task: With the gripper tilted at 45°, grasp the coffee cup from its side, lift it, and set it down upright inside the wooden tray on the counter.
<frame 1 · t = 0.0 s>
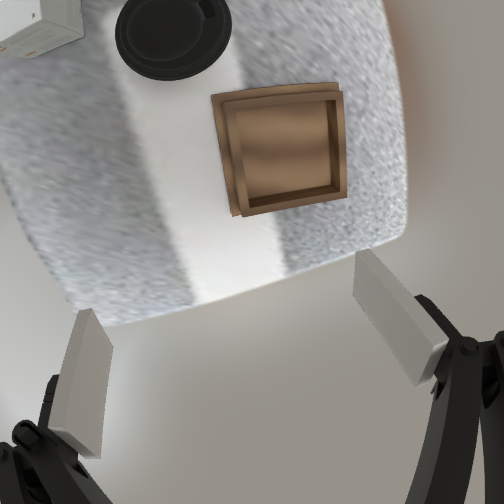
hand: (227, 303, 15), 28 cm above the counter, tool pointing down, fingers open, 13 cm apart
wooden tray: (282, 145, 39), on the counter
coffee cup: (177, 47, 31), on the counter
small box: (55, 27, 25), on the counter
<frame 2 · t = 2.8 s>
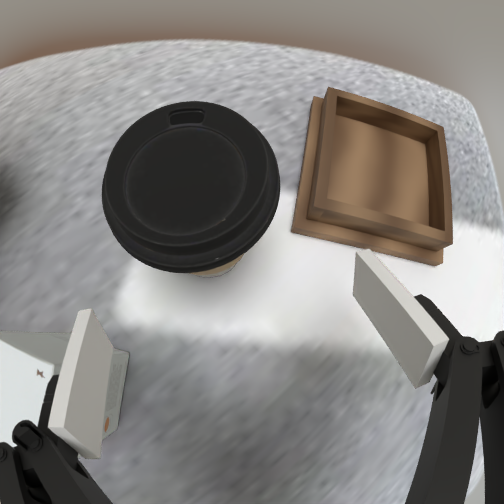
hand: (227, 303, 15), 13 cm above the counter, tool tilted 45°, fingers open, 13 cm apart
wooden tray: (374, 178, 31), on the counter
coffee cup: (209, 247, 29), on the counter
small box: (94, 381, 25), on the counter
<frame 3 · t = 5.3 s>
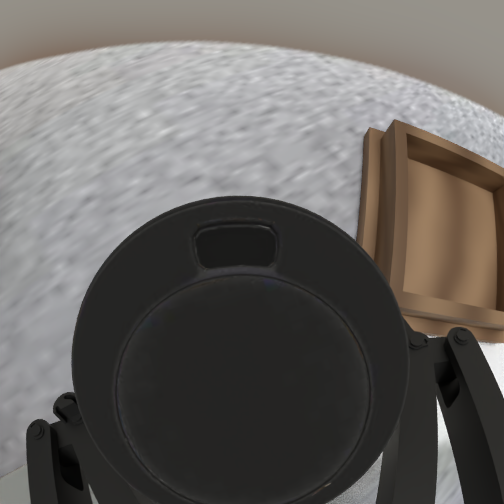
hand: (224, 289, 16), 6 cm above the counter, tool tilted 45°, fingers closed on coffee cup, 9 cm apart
wooden tray: (441, 241, 23), on the counter
coffee cup: (238, 345, 21), on the counter, touching gripper
small box: (102, 489, 17), on the counter
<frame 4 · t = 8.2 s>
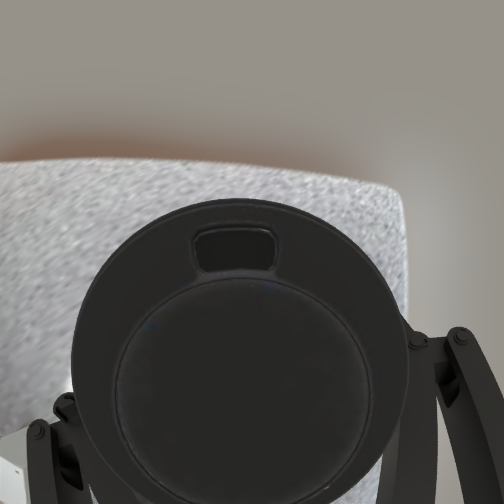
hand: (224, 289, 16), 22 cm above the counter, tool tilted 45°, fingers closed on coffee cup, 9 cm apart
coffee cup: (238, 346, 21), point 16 cm above the counter, touching gripper
small box: (56, 452, 30), on the counter
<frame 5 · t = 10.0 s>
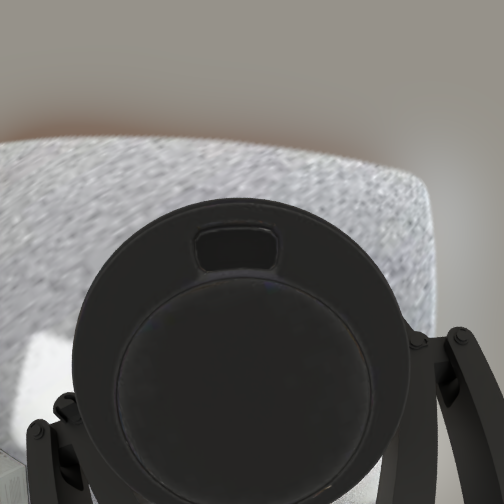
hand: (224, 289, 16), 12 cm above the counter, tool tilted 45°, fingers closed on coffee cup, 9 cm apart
coffee cup: (238, 346, 21), point 6 cm above the counter, touching gripper
small box: (9, 476, 21), on the counter
when the fingers open (9 cm above the counter, at t = 11.2 s): coffee cup drops 2 cm, resting on wooden tray.
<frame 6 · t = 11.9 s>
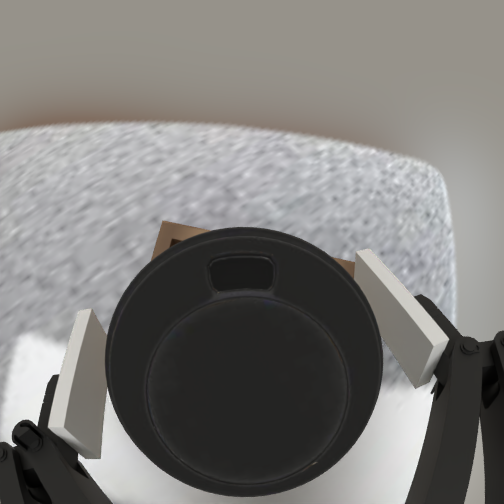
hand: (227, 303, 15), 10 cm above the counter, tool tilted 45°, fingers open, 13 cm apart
wooden tray: (238, 343, 24), on the counter
coffee cup: (240, 345, 23), point 1 cm above the counter, touching wooden tray
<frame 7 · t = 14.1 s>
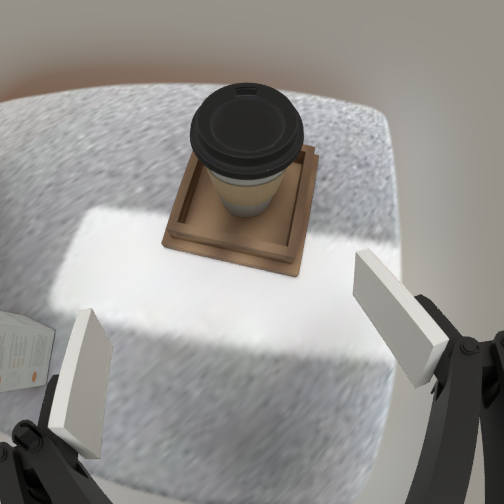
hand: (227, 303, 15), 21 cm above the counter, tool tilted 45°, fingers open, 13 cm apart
wooden tray: (244, 200, 39), on the counter
coffee cup: (245, 196, 37), point 1 cm above the counter, touching wooden tray
small box: (34, 349, 33), on the counter
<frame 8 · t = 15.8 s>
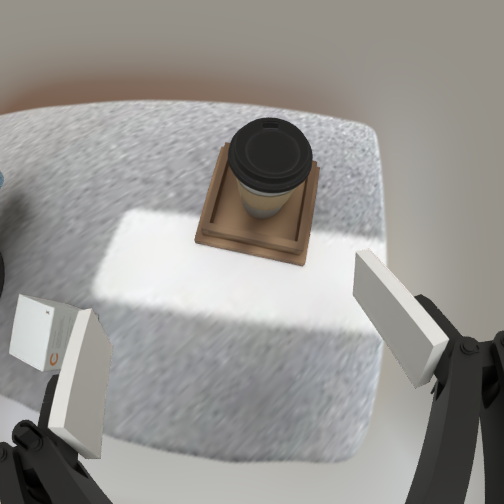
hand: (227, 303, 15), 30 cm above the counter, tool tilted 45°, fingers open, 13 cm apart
wooden tray: (260, 204, 48), on the counter
coffee cup: (261, 201, 47), point 1 cm above the counter, touching wooden tray
small box: (78, 333, 42), on the counter
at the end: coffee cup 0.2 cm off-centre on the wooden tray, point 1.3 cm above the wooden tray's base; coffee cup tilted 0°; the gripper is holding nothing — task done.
